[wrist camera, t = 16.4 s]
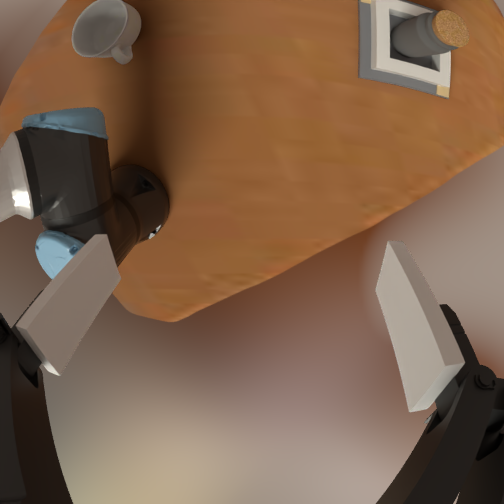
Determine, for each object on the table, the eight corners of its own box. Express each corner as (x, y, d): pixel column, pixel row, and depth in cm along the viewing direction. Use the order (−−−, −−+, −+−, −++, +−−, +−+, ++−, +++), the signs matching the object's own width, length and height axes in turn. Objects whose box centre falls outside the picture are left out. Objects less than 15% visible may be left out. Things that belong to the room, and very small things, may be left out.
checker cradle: (358, 77, 35) (364, 76, 32) (357, -10, 26) (362, -18, 23) (446, 98, 33) (457, 100, 30) (446, 16, 25) (457, 13, 21)
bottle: (383, 28, 29) (422, 6, 16) (413, 22, 27) (460, 4, 14) (398, 61, 31) (444, 54, 19) (428, 55, 29) (480, 49, 17)
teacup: (92, 26, 32) (65, 23, 26) (140, -6, 29) (116, -16, 23) (113, 82, 39) (86, 85, 32) (163, 53, 36) (140, 49, 29)
